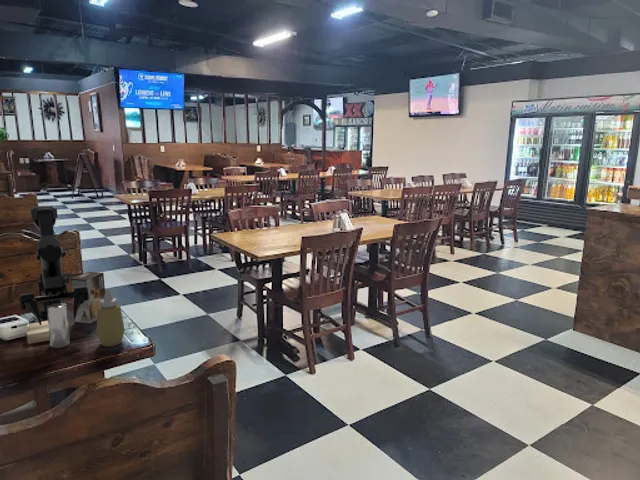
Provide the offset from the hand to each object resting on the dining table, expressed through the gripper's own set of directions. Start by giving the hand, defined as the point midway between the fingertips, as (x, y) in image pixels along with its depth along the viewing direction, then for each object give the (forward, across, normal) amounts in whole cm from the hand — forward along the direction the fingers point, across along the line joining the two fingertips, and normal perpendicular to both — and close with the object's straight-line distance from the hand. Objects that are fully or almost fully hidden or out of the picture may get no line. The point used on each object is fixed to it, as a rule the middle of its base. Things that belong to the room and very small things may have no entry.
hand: (57, 321), depth 142 cm
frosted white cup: (+5, 0, +6) cm, 8 cm away
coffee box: (-8, +11, +19) cm, 23 cm away
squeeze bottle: (+10, +14, +1) cm, 17 cm away
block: (-2, -4, +12) cm, 13 cm away
